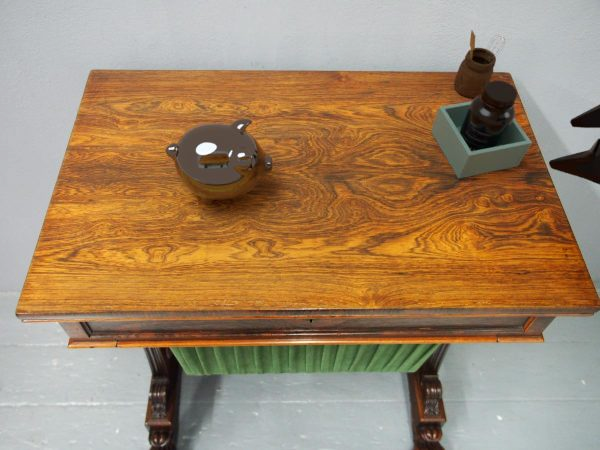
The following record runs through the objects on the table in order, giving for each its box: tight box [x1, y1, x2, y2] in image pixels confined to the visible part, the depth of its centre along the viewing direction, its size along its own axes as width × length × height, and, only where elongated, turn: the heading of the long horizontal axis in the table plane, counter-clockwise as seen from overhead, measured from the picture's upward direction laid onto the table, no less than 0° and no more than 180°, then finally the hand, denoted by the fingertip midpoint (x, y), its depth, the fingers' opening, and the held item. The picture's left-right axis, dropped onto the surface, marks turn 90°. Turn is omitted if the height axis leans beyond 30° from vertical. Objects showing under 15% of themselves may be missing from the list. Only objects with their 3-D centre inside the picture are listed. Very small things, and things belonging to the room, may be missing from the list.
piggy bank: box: [164, 117, 274, 206], centre depth 72 cm, size 11×15×12 cm
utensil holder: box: [453, 29, 506, 99], centre depth 87 cm, size 6×6×12 cm
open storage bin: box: [430, 100, 533, 180], centre depth 81 cm, size 11×11×6 cm
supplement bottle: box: [459, 80, 518, 152], centre depth 78 cm, size 7×7×12 cm
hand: (561, 143), depth 66 cm, fingers open, 9 cm apart
